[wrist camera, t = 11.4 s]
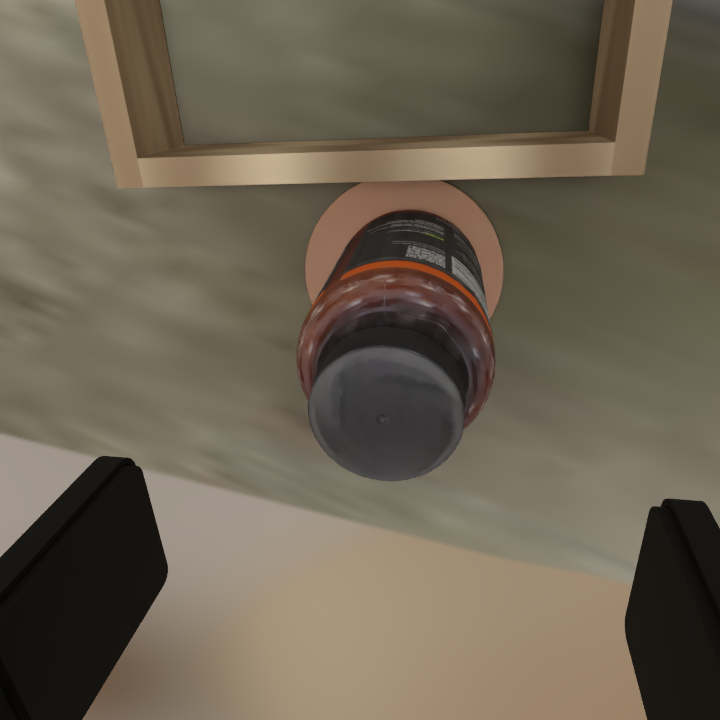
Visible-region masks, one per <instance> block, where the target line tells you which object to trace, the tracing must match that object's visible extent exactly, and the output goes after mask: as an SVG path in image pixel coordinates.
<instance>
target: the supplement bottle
mask: <svg viewBox="0 0 720 720" xmlns="http://www.w3.org/2000/svg"><path fill="white" fill-rule="evenodd" d="M494 370H495V350H494V343H493V337H492V330H491V325H490V320H489V314H488V308H487V302H486V296H485V290H484V285H483V278H482V271H481V266H480V264H479V261H478V258H477V255H476V252H475V250H474V248H473V246H472V245H471V243H470V241H469V240H468V239H467V237H466V236H465V235H464V234H463V232H462V231H461V230H460V229H459V228H457V227H456V225H454V224H453V223H451V222H449V221H448V220H446V219H444V218H443V217H440V216H438V215H436V214H433V213H429V212H425V211H420V210H399V211H393V212H390V213H386V214H384V215H382V216H379V217H377V218H375V219H373V220H372V221H370V222H369V223H367V224H366V225H365V226H363V227H362V228H361V229H360V230H359V231H358V232H357V233H356V234H355V235H354V236H353V238H352V239H351V240H350V241H349V243H348V244H347V245H346V247H345V249H344V251H343V253H342V254H341V256H340V258H339V259H338V261H337V263H336V265H335V267H334V268H333V270H332V272H331V273H330V275H329V277H328V279H327V281H326V282H325V284H324V286H323V288H322V289H321V291H320V293H319V294H318V296H317V298H316V300H315V302H314V304H313V306H312V307H311V309H310V311H309V313H308V315H307V317H306V319H305V321H304V323H303V326H302V329H301V333H300V336H299V341H298V346H297V372H298V376H299V380H300V384H301V387H302V389H303V392H304V394H305V396H306V398H307V400H308V414H309V421H310V425H311V428H312V431H313V433H314V436H315V438H316V439H317V441H318V443H319V445H320V446H321V447H322V449H323V450H324V451H325V452H326V453H327V455H328V456H329V457H330V458H332V459H333V460H334V461H335V462H336V463H337V464H339V465H340V466H341V467H343V468H345V469H347V470H349V471H351V472H353V473H355V474H357V475H360V476H362V477H367V478H370V479H376V480H382V481H401V480H407V479H411V478H416V477H419V476H422V475H424V474H426V473H428V472H430V471H432V470H434V469H435V468H436V467H438V466H439V465H441V464H442V463H443V462H444V461H445V460H447V459H448V457H449V456H450V455H451V454H452V453H453V451H454V450H455V449H456V447H457V445H458V443H459V441H460V439H461V437H462V433H463V431H464V430H465V428H467V427H468V426H469V425H470V423H471V422H472V421H473V420H474V419H475V418H476V416H477V415H478V414H479V412H480V411H481V410H482V409H483V406H484V404H485V402H486V401H487V399H488V396H489V393H490V390H491V387H492V384H493V378H494Z"/></svg>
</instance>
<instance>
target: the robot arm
mask: <svg viewBox="0 0 720 720" xmlns="http://www.w3.org/2000/svg"><path fill="white" fill-rule="evenodd" d="M167 573H168V565H167V561H166V557H165V554H164V550H163V546H162V542H161V539H160V535H159V531H158V528H157V524H156V520H155V516H154V513H153V509H152V505H151V502H150V498H149V494H148V490H147V486H146V483H145V479H144V475H143V472H142V470H141V468H140V467H138V466H136V465H135V463H134V461H133V460H132V459H130V458H124V457H110V456H101V457H99V458H97V459H96V460H95V461H94V462H93V463H92V464H91V465H90V466H89V467H88V468H87V469H86V470H85V471H84V472H83V473H82V474H81V475H80V476H79V477H78V478H77V479H76V480H75V481H74V482H73V483H72V484H71V485H70V486H69V488H68V489H67V490H66V491H65V492H64V493H63V494H62V495H61V496H60V497H59V498H58V499H57V500H56V501H55V502H54V503H53V504H52V505H51V506H50V507H49V508H48V509H47V510H46V511H45V512H44V513H43V514H42V515H41V516H40V517H39V518H38V519H37V521H35V522H34V523H33V524H32V525H31V526H30V528H29V529H28V530H27V531H26V532H25V533H24V534H23V535H22V536H21V537H20V538H19V539H18V540H17V541H16V542H15V543H14V544H13V545H12V546H11V547H10V548H9V549H8V550H7V551H6V552H5V553H4V554H3V555H2V556H1V557H0V720H82V719H83V717H84V716H85V714H86V712H87V711H88V709H89V708H90V706H91V704H92V703H93V701H94V699H95V698H96V696H97V694H98V693H99V691H100V689H101V688H102V686H103V684H104V683H105V681H106V679H107V677H108V676H109V675H110V672H111V671H112V670H113V668H114V666H115V665H116V663H117V661H118V660H119V658H120V656H121V655H122V653H123V651H124V650H125V648H126V646H127V645H128V643H129V642H130V640H131V638H132V637H133V635H134V633H135V632H136V630H137V628H138V627H139V625H140V623H141V622H142V620H143V619H144V617H145V615H146V613H147V612H148V610H149V609H150V607H151V605H152V604H153V602H154V600H155V599H156V597H157V595H158V594H159V592H160V590H161V589H162V587H163V585H164V583H165V581H166V578H167ZM625 633H626V639H627V643H628V647H629V651H630V655H631V658H632V663H633V666H634V670H635V674H636V678H637V681H638V686H639V689H640V693H641V697H642V701H643V705H644V709H645V712H646V716H647V720H720V529H719V527H718V525H717V523H716V521H715V519H714V517H713V515H712V513H711V511H710V510H709V508H708V506H707V505H706V503H704V502H702V501H692V500H679V499H664V501H663V502H662V504H661V507H655V506H653V507H651V509H650V511H649V515H648V519H647V523H646V528H645V532H644V537H643V541H642V545H641V550H640V554H639V559H638V563H637V567H636V572H635V576H634V581H633V585H632V589H631V594H630V598H629V603H628V607H627V611H626V616H625Z"/></svg>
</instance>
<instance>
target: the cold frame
mask: <svg viewBox="0 0 720 720" xmlns="http://www.w3.org/2000/svg"><path fill="white" fill-rule="evenodd" d="M672 2H673V0H604V5H603V13H602V22H601V30H600V38H599V47H598V55H597V63H596V72H595V80H594V88H593V97H592V105H591V113H590V122H589V130H588V131H565V132H538V133H510V134H483V135H456V136H429V137H402V138H374V139H347V140H320V141H293V142H266V143H239V144H211V145H184V141H183V135H182V130H181V124H180V118H179V112H178V107H177V101H176V95H175V89H174V83H173V78H172V72H171V66H170V60H169V55H168V49H167V43H166V37H165V31H164V26H163V20H162V14H161V8H160V3H159V0H75V3H76V8H77V12H78V16H79V21H80V25H81V29H82V34H83V38H84V43H85V47H86V51H87V56H88V60H89V64H90V69H91V73H92V78H93V82H94V86H95V91H96V95H97V99H98V104H99V108H100V113H101V117H102V121H103V126H104V130H105V134H106V139H107V143H108V148H109V152H110V156H111V161H112V165H113V169H114V174H115V178H116V183H117V187H118V188H146V187H185V186H225V185H264V184H303V183H342V182H382V181H421V180H460V179H500V178H539V177H578V176H617V175H644V171H645V165H646V159H647V153H648V147H649V141H650V135H651V129H652V123H653V117H654V111H655V105H656V99H657V93H658V87H659V81H660V74H661V68H662V62H663V56H664V50H665V44H666V38H667V32H668V26H669V20H670V14H671V8H672Z"/></svg>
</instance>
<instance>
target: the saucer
mask: <svg viewBox="0 0 720 720" xmlns="http://www.w3.org/2000/svg"><path fill="white" fill-rule="evenodd" d="M399 210H420V211H425V212H429V213H433V214H436V215H438V216H440V217H443V218H444V219H446V220H448V221H449V222H451V223H453V224H454V225H456V227H457V228H459V229H460V230H461V231H462V232H463V234H464V235H465V236H466V237H467V239H468V240H469V241H470V243H471V245H472V246H473V248H474V250H475V252H476V255H477V258H478V261H479V264H480V266H481V271H482V278H483V285H484V290H485V296H486V302H487V308H488V314H489V320H490V318H491V316H492V315H493V313H494V311H495V308H496V306H497V304H498V301H499V297H500V294H501V290H502V284H503V259H502V252H501V248H500V244H499V241H498V238H497V234H496V232H495V230H494V228H493V226H492V223H491V222H490V220H489V219H488V217H487V215H486V214H485V212H484V211H483V210H482V209H481V208H480V206H479V205H478V204H477V203H476V202H475V201H474V200H473V199H472V198H471V197H470V196H469V195H467V194H466V193H465V192H464V191H462V190H461V189H459V188H458V187H456V186H455V185H453V184H451V183H448V182H446V181H444V180H421V181H382V182H360V183H358V184H357V185H355V186H353V187H351V188H350V189H348V190H347V191H346V192H344V193H343V194H342V195H340V196H339V197H338V198H337V199H336V200H335V201H334V202H333V203H332V204H331V205H330V206H329V207H328V209H327V210H326V211H325V213H324V214H323V215H322V217H321V218H320V220H319V221H318V223H317V225H316V227H315V228H314V231H313V233H312V236H311V238H310V241H309V245H308V249H307V253H306V263H305V274H306V283H307V289H308V293H309V296H310V299H311V302H312V304H314V302H315V300H316V298H317V296H318V294H319V293H320V291H321V289H322V288H323V286H324V284H325V282H326V281H327V279H328V277H329V275H330V273H331V272H332V270H333V268H334V267H335V265H336V263H337V261H338V259H339V258H340V256H341V254H342V253H343V251H344V249H345V247H346V245H347V244H348V243H349V241H350V240H351V239H352V238H353V236H354V235H355V234H356V233H357V232H358V231H359V230H360V229H361V228H362V227H363V226H365V225H366V224H367V223H369V222H370V221H372V220H373V219H375V218H377V217H379V216H382V215H384V214H386V213H390V212H393V211H399Z"/></svg>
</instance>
